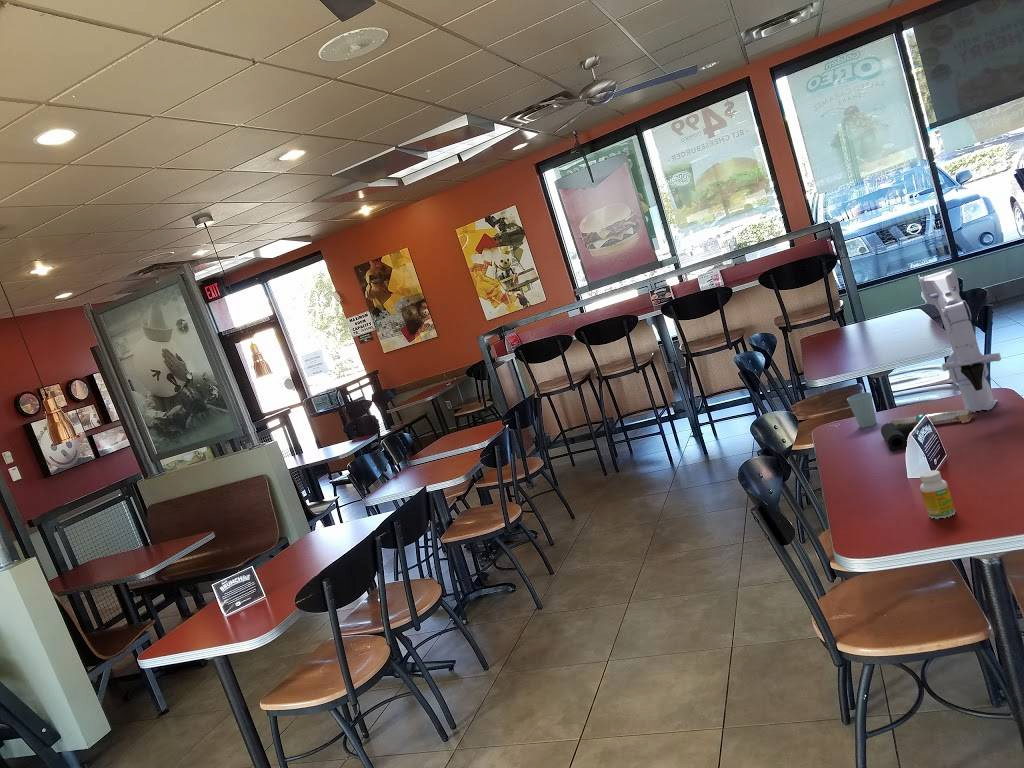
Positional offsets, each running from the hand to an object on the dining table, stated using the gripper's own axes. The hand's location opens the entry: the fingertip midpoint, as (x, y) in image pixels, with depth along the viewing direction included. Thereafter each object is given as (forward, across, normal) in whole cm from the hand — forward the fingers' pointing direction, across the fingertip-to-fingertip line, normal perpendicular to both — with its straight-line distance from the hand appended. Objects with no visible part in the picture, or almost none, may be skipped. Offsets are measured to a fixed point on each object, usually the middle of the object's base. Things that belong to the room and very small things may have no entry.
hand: (979, 389), depth 220 cm
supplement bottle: (+10, +5, -68) cm, 69 cm away
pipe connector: (+10, -20, -8) cm, 24 cm away
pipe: (+10, -17, +5) cm, 20 cm away
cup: (+10, -40, +16) cm, 44 cm away
